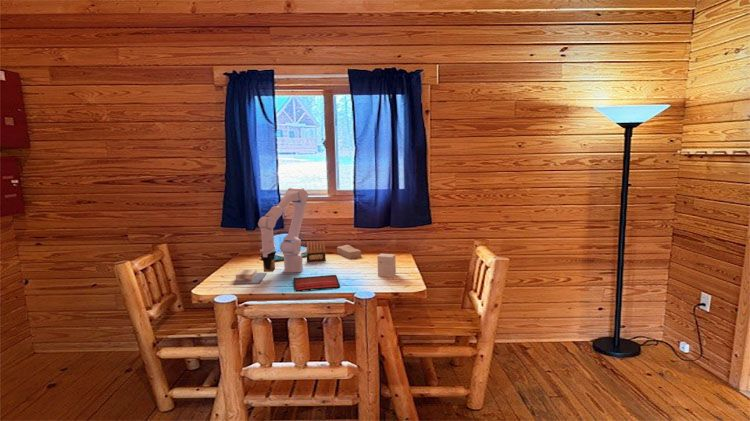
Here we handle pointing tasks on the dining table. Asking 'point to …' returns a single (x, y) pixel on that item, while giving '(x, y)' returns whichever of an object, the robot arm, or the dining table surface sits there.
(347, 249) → the brick
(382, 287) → the dining table surface
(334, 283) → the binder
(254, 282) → the board
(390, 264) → the small box
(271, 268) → the walnut block
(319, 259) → the ammunition clip
